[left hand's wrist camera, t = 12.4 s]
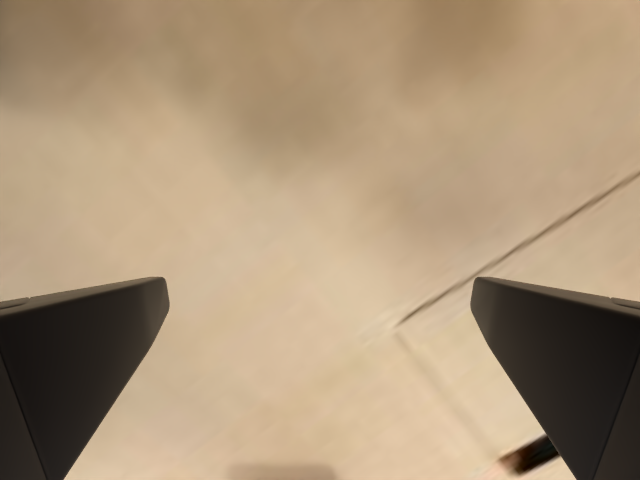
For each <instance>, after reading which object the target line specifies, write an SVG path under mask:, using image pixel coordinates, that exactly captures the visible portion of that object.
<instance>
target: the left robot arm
mask: <svg viewBox="0 0 640 480" xmlns="http://www.w3.org/2000/svg"><path fill="white" fill-rule="evenodd" d="M168 311H169V297H168V290H167V284H166V281H165V279H164V278H163V277H147V278H141V279H135V280H130V281H124V282H118V283H112V284H106V285H100V286H94V287H89V288H83V289H77V290H71V291H65V292H59V293H53V294H48V295H42V296H36V297H31V298H30V299H29V298H21V299H15V300H9V301H3V302H0V480H64V478H65V477H66V475H67V474H68V472H69V470H70V469H71V467H72V466H73V464H74V463H75V461H76V460H77V458H78V457H79V455H80V454H81V452H82V451H83V449H84V448H85V446H86V445H87V443H88V442H89V440H90V439H91V437H92V436H93V434H94V433H95V431H96V430H97V428H98V427H99V425H100V424H101V422H102V420H103V419H104V417H105V416H106V414H107V413H108V411H109V410H110V408H111V407H112V405H113V404H114V402H115V401H116V399H117V398H118V396H119V395H120V393H121V392H122V390H123V389H124V387H125V386H126V384H127V383H128V381H129V380H130V378H131V377H132V375H133V374H134V372H135V371H136V369H137V367H138V366H139V364H140V363H141V361H142V360H143V358H144V357H145V355H146V354H147V352H148V351H149V349H150V347H151V346H152V344H153V342H154V340H155V338H156V336H157V334H158V332H159V330H160V328H161V326H162V324H163V322H164V320H165V318H166V315H167V313H168ZM471 311H472V313H473V315H474V318H475V320H476V322H477V324H478V326H479V328H480V330H481V332H482V334H483V336H484V338H485V340H486V342H487V344H488V346H489V347H490V349H491V351H492V352H493V354H494V355H495V357H496V358H497V360H498V361H499V363H500V364H501V366H502V367H503V369H504V370H505V372H506V374H507V375H508V377H509V378H510V380H511V381H512V383H513V384H514V386H515V387H516V389H517V390H518V392H519V393H520V395H521V396H522V398H523V399H524V401H525V402H526V404H527V405H528V407H529V408H530V410H531V411H532V413H533V414H534V416H535V417H536V419H537V420H538V422H539V423H540V425H541V426H542V428H543V430H544V431H545V433H546V434H547V436H548V437H549V439H550V440H551V442H552V443H553V445H554V446H555V448H556V449H557V451H558V452H559V454H560V455H561V457H562V458H563V460H564V461H565V463H566V464H567V466H568V467H569V469H570V470H571V472H572V473H573V475H574V477H575V478H576V480H640V302H637V301H631V300H625V299H619V298H611V299H610V298H609V297H604V296H599V295H593V294H587V293H581V292H575V291H569V290H563V289H558V288H552V287H546V286H540V285H534V284H528V283H522V282H516V281H511V280H505V279H499V278H493V277H477V278H476V279H475V281H474V284H473V290H472V297H471Z"/></svg>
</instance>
